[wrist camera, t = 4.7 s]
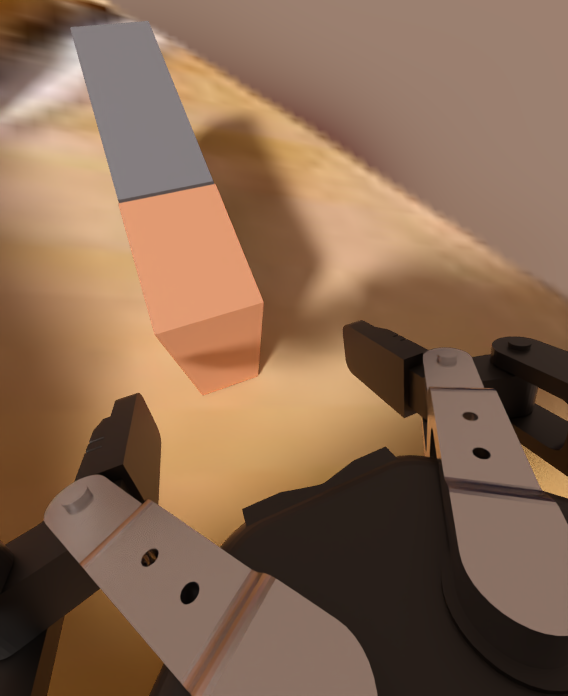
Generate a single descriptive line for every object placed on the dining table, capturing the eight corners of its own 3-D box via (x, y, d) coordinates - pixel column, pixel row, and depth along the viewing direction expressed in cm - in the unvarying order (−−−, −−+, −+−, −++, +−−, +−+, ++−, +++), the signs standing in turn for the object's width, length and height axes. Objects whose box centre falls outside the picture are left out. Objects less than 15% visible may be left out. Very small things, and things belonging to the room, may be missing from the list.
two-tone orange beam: (258, 376, 22) (264, 301, 11) (202, 395, 21) (153, 334, 10) (232, 304, 23) (216, 183, 13) (178, 320, 22) (116, 203, 12)
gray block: (231, 304, 24) (216, 186, 13) (179, 320, 23) (118, 205, 12) (188, 187, 27) (149, 20, 17) (141, 196, 26) (69, 27, 16)
